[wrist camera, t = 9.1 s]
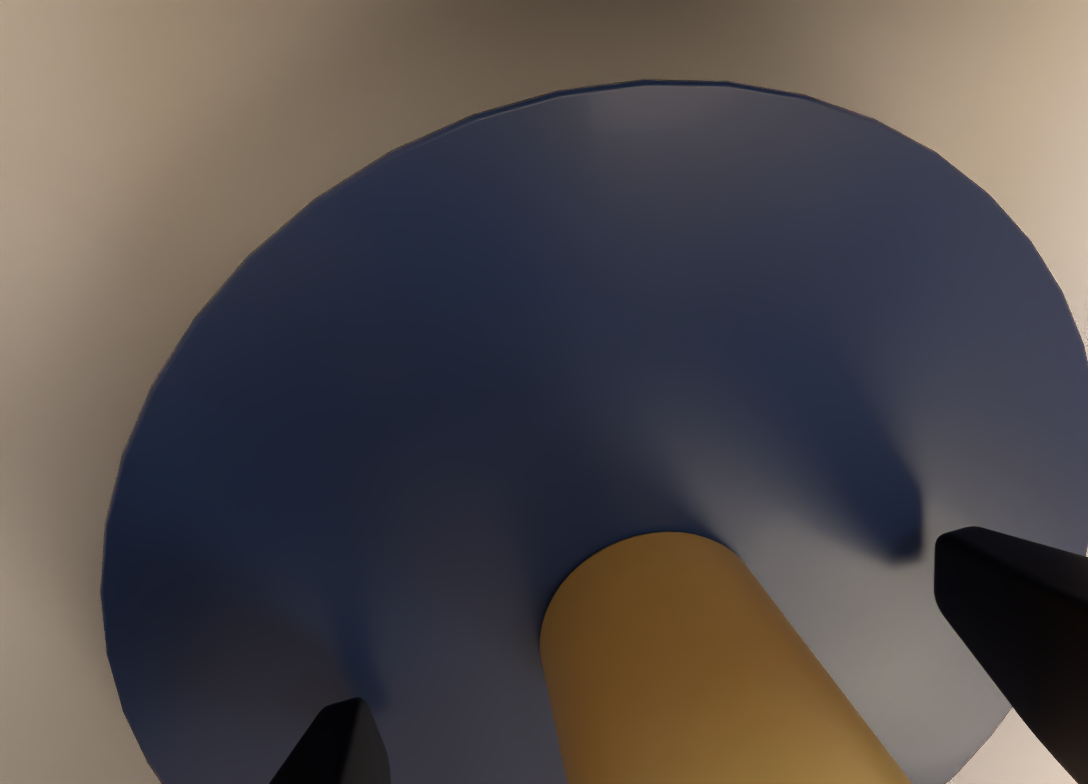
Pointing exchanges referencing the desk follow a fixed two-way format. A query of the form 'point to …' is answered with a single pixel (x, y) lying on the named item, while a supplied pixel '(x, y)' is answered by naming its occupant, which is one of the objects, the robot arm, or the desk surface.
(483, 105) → the desk surface
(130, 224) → the desk surface
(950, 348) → the tin lid
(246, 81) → the desk surface
